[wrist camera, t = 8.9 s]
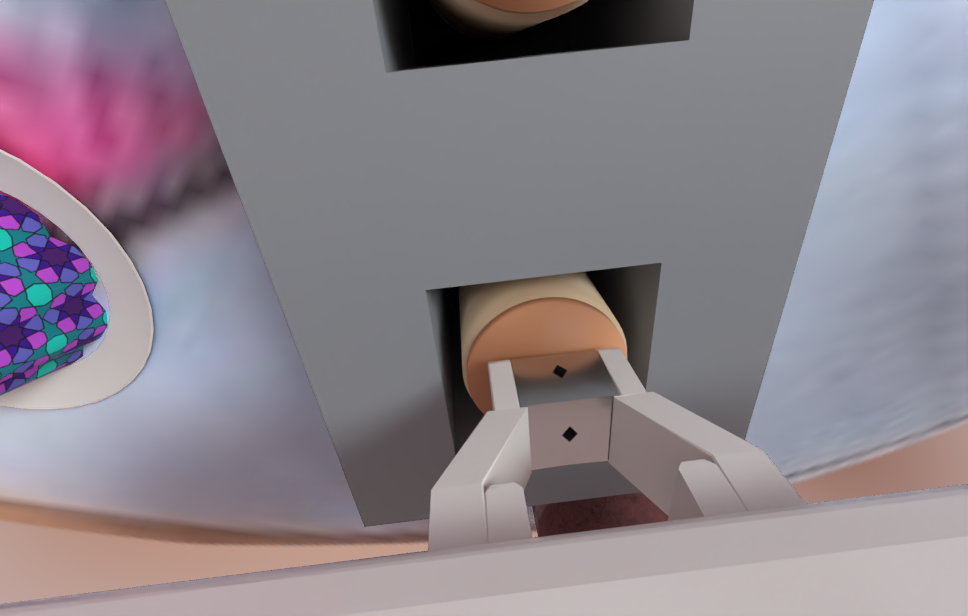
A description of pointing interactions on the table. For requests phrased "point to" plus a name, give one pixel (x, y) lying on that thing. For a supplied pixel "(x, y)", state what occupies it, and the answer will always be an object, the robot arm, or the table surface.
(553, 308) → the peg
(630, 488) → the block
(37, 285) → the pudding
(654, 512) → the can
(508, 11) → the peg
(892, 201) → the table surface
